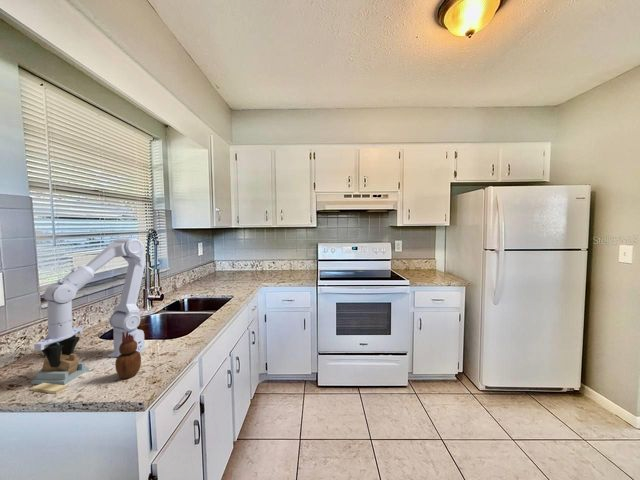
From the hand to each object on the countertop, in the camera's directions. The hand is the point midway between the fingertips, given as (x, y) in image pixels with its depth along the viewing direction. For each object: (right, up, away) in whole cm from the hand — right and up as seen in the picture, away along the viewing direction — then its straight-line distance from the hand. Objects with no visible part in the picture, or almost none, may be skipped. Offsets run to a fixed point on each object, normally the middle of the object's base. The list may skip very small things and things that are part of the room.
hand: (61, 363), depth 90 cm
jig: (0, -4, 0) cm, 4 cm away
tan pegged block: (-1, -2, 0) cm, 2 cm away
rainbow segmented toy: (-17, -4, +18) cm, 25 cm away
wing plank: (+3, -5, -7) cm, 9 cm away
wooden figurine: (+21, -5, +1) cm, 22 cm away
